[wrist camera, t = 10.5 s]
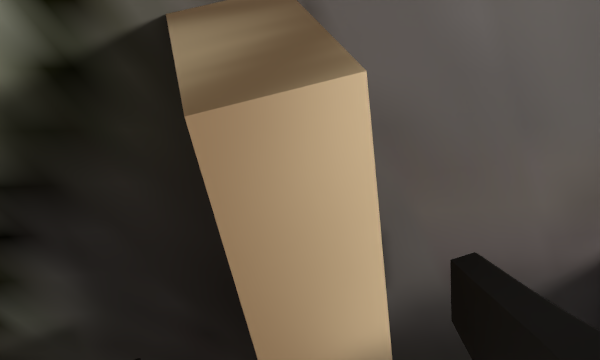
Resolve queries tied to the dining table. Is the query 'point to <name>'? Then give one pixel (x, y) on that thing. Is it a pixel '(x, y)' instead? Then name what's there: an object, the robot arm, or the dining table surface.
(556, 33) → the dining table surface
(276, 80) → the blade batten
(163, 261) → the dining table surface
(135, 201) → the dining table surface
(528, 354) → the robot arm
